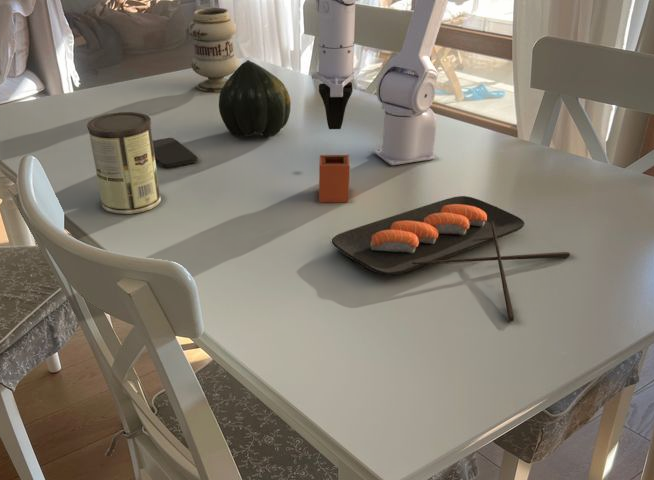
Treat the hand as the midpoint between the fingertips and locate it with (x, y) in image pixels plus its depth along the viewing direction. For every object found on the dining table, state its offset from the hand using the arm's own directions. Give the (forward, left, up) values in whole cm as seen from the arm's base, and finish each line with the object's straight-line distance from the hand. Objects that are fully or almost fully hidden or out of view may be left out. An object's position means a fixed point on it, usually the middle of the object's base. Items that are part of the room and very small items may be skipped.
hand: (334, 128), depth 123 cm
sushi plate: (-6, +35, -10) cm, 37 cm away
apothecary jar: (+3, -71, -10) cm, 72 cm away
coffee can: (+36, -5, -10) cm, 38 cm away
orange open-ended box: (+2, +4, -7) cm, 8 cm away
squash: (+5, -32, -10) cm, 34 cm away
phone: (+25, -26, -10) cm, 37 cm away
